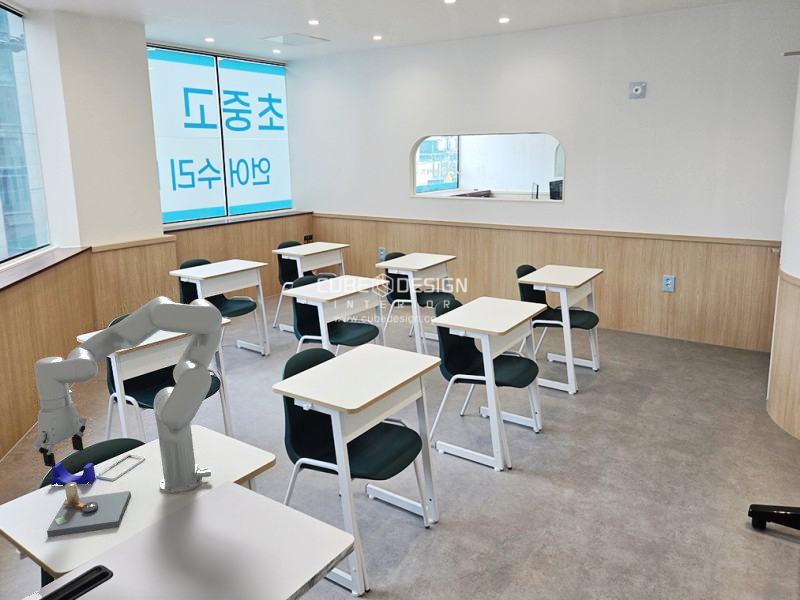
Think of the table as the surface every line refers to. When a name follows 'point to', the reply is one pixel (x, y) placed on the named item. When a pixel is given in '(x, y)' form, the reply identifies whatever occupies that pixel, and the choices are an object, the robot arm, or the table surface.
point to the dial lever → (74, 499)
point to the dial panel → (90, 515)
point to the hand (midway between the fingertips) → (64, 457)
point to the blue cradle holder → (65, 477)
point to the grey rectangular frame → (121, 472)
